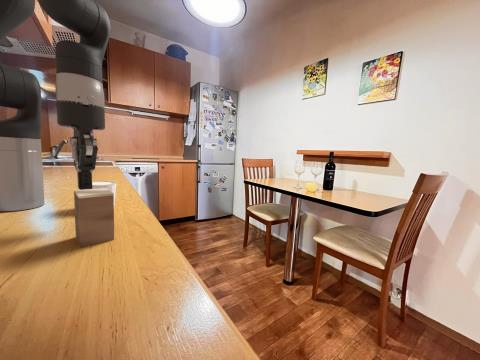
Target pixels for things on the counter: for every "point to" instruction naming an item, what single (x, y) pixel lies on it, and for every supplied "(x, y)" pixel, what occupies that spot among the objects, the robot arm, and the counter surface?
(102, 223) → the greyish brown block
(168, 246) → the counter surface
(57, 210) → the counter surface
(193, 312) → the counter surface
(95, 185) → the shot glass
